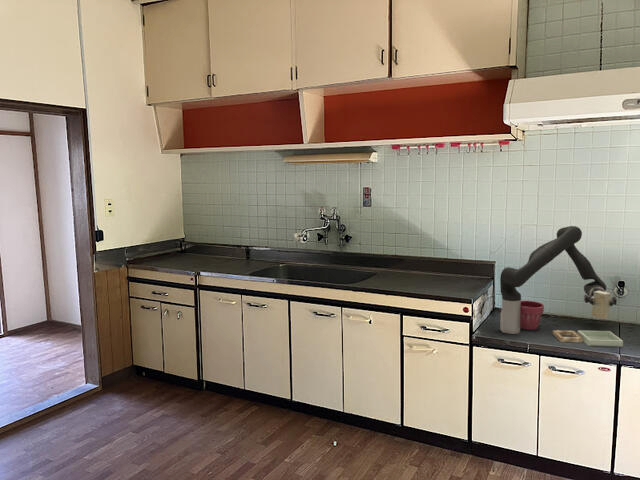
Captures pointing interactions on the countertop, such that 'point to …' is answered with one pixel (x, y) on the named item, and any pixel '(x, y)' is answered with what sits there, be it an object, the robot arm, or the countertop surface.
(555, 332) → the wooden frame
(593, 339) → the sage tray
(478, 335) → the countertop surface
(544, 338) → the countertop surface
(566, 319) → the countertop surface
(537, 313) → the plant pot
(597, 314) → the skincare box
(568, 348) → the countertop surface
